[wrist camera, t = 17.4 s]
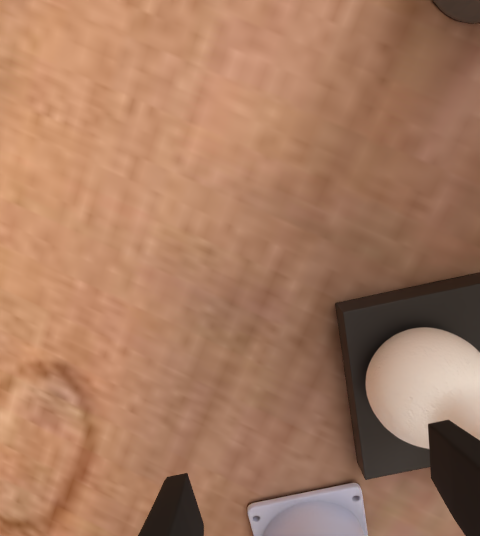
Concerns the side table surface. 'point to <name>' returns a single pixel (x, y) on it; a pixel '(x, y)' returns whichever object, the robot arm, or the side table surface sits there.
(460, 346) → the garlic bulb
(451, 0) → the bottle
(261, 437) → the side table surface
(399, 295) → the scale
